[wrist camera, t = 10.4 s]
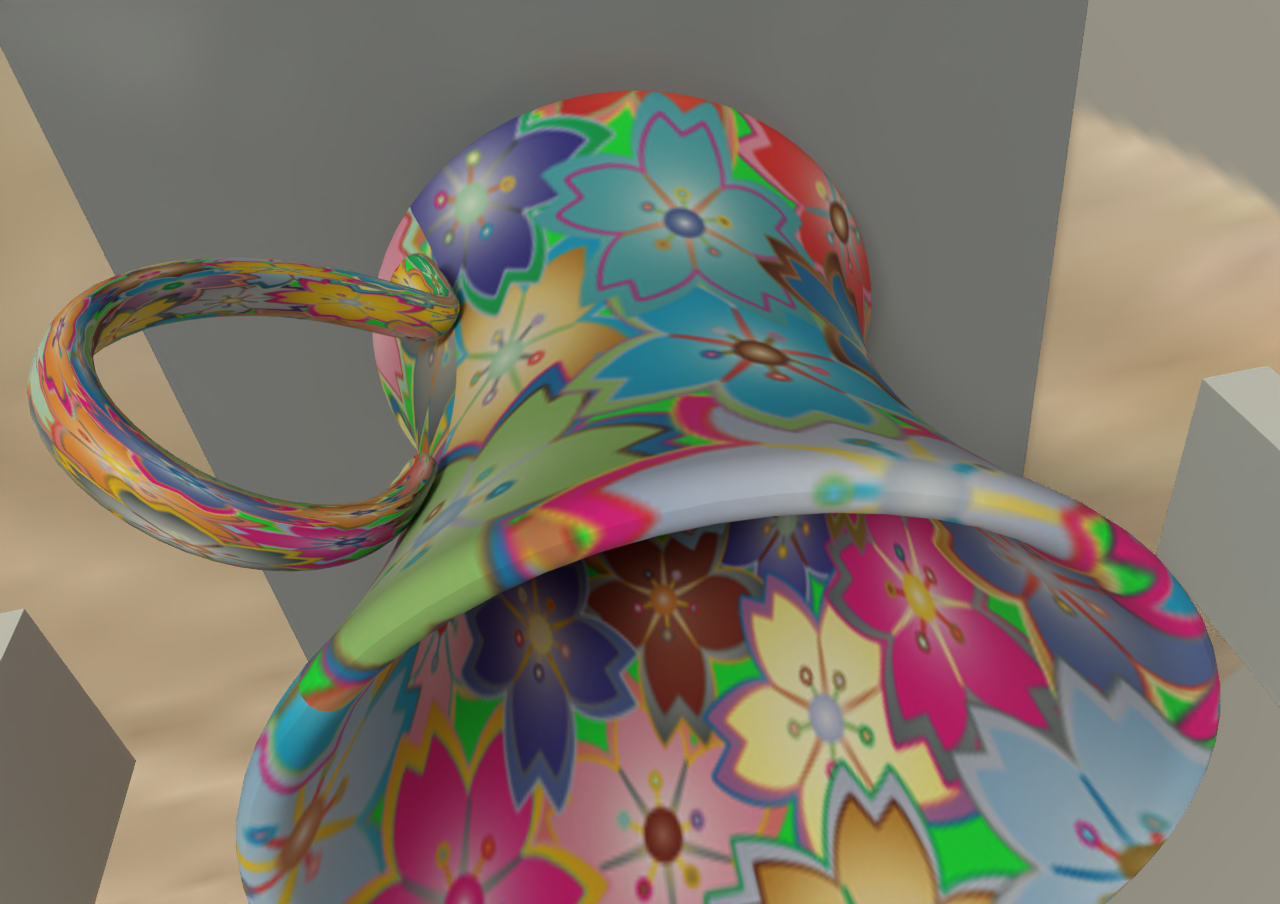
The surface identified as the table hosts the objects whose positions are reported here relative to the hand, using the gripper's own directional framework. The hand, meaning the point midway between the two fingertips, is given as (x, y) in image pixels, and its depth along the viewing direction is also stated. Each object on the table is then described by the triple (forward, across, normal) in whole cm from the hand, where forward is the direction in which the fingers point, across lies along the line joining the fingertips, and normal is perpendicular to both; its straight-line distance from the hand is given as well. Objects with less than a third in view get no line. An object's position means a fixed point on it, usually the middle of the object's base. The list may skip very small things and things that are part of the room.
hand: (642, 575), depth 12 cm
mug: (+8, 0, 0) cm, 8 cm away
